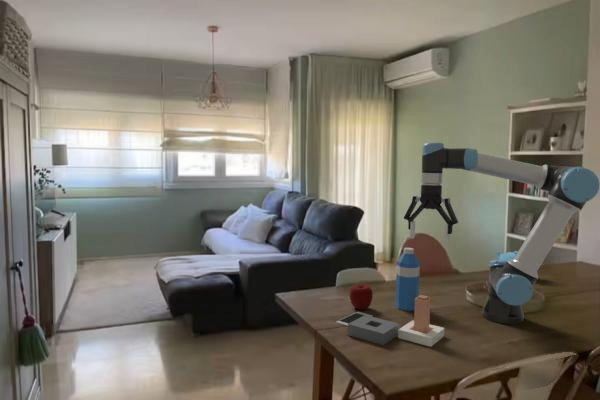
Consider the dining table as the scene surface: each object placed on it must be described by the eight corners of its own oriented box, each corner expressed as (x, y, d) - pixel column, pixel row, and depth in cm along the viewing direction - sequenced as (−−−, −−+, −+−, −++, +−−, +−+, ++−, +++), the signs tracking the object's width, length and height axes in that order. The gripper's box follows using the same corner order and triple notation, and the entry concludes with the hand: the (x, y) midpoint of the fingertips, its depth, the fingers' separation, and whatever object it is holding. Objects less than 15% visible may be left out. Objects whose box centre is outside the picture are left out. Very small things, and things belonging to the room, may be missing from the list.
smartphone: (373, 317, 185) (373, 315, 185) (351, 328, 173) (351, 326, 173) (358, 313, 190) (358, 311, 189) (335, 323, 178) (335, 321, 178)
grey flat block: (399, 334, 167) (399, 323, 166) (383, 345, 157) (383, 333, 157) (364, 325, 175) (365, 315, 175) (347, 334, 166) (348, 324, 165)
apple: (344, 308, 194) (345, 284, 193) (358, 303, 201) (358, 280, 200) (363, 313, 188) (364, 289, 187) (376, 308, 195) (377, 285, 194)
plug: (428, 336, 165) (430, 296, 164) (424, 340, 162) (426, 299, 161) (418, 333, 168) (419, 294, 166) (413, 337, 165) (415, 296, 163)
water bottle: (418, 311, 192) (420, 251, 189) (395, 309, 194) (397, 250, 191) (417, 304, 201) (419, 247, 198) (395, 302, 203) (397, 245, 200)
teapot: (538, 278, 246) (539, 253, 244) (529, 282, 238) (530, 256, 237) (497, 270, 262) (498, 246, 261) (487, 274, 255) (488, 249, 253)
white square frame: (444, 336, 166) (444, 327, 166) (430, 346, 157) (431, 338, 156) (412, 328, 173) (412, 320, 173) (397, 337, 164) (398, 329, 164)
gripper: (468, 185, 171) (465, 242, 173) (404, 182, 186) (402, 235, 188) (461, 186, 165) (458, 246, 167) (396, 183, 180) (394, 237, 182)
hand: (429, 240), depth 177 cm, fingers open, 13 cm apart
